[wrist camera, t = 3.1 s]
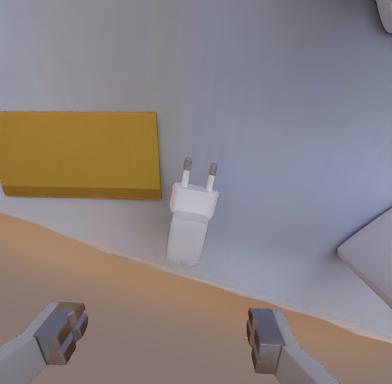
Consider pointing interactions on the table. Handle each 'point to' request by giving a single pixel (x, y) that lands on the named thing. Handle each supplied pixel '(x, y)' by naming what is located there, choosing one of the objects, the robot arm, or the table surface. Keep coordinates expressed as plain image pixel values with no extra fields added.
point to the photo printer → (372, 255)
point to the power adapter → (190, 217)
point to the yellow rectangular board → (80, 155)
